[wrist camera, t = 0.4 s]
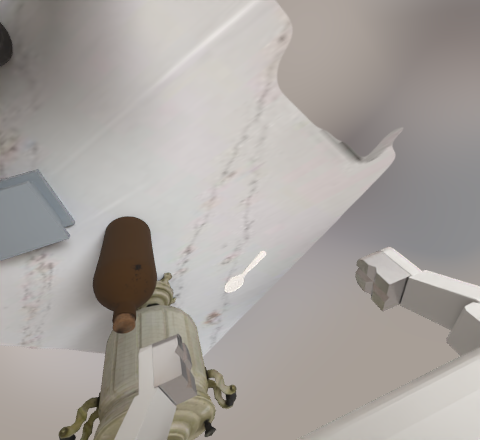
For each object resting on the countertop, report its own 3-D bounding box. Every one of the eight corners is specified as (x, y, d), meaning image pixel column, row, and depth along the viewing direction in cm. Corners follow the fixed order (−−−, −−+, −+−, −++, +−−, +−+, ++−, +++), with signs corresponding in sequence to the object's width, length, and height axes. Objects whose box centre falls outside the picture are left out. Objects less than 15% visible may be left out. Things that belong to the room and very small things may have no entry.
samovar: (81, 332, 70) (35, 565, 39) (92, 257, 59) (42, 496, 28) (187, 328, 84) (218, 498, 52) (213, 266, 73) (271, 434, 41)
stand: (-35, 190, 45) (-56, 207, 40) (37, 169, 47) (26, 183, 42) (13, 241, 52) (0, 260, 47) (75, 221, 54) (69, 238, 49)
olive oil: (97, 216, 55) (74, 312, 35) (150, 211, 58) (157, 296, 38) (107, 255, 60) (93, 356, 41) (155, 248, 64) (163, 339, 44)
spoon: (270, 253, 78) (271, 255, 77) (232, 293, 82) (232, 294, 82) (258, 247, 75) (259, 248, 74) (219, 288, 79) (220, 290, 79)
